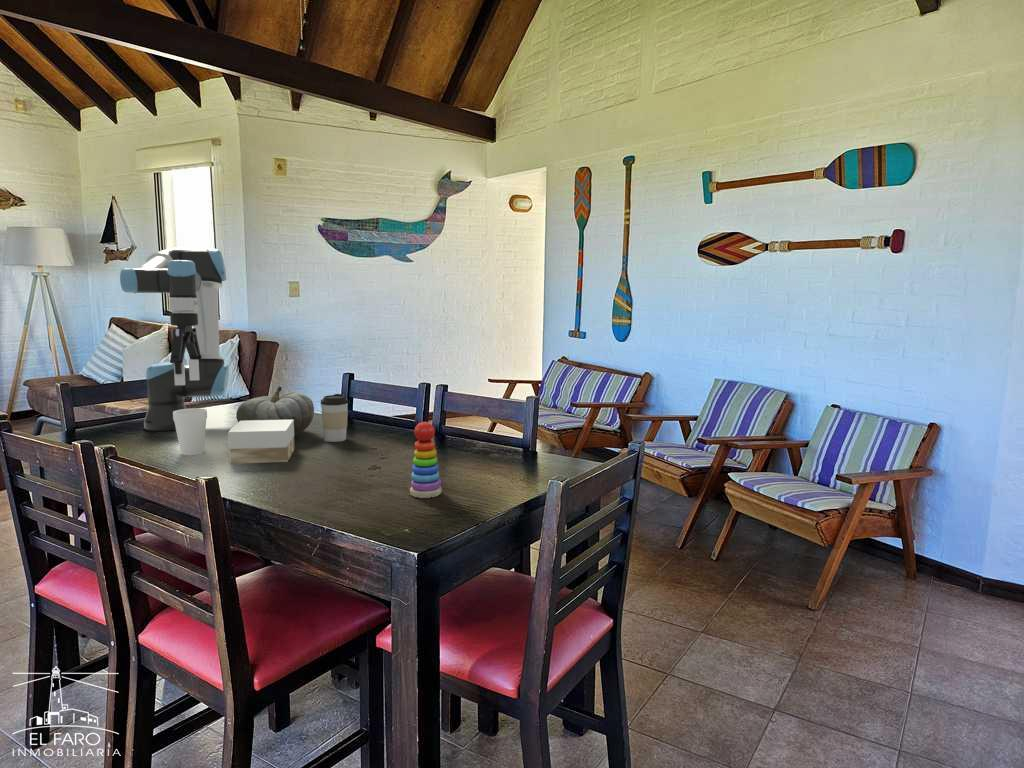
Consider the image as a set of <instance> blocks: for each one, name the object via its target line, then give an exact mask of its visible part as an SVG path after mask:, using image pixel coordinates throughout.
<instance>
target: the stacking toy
mask: <svg viewBox="0 0 1024 768" xmlns="http://www.w3.org/2000/svg"><path fill="white" fill-rule="evenodd" d="M413 433H414V436H415V439H416V440H417V441H415V442H414V448H415V450H414V452H413V453H414V457H413V460H412V462H413V465H412V468H411V469H412V473H411V474H410V476H411V479H412V480H411V482H410V485H411V487H410V489H409V493H410V495H411V496H413V497H414V498H417V497H418V499H430V498H431V497H432V498H435V497H438V496H439V495H441V494H442V492H443V491H442V487H441V484H442V480H441V479H440V478H439V477H440V473H439V471H438V470H439V465H438V464H437V463H438V458H437V456H436V455H437V450H436V448H435V446H436V443H435V441H434V440H432V439H433V438H434V436H435V434H436V430H435V426H434V425H432V423H430V422H427V421H422V422H418V423H417V425H416V426H415V427H414V430H413Z"/></svg>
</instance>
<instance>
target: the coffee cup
mask: <svg viewBox="0 0 1024 768" xmlns="http://www.w3.org/2000/svg"><path fill="white" fill-rule="evenodd" d="M319 404H320V406H321V418H322V419H321V420H322V429H323V433H324V434H323V435H324V441H326V442H330V443H335V442H336V443H338V442H345V440H346V439H347V428H348V414H349V409H348V404H349V399H348V398H347V397H346V396H345V395H343V394H341V393H335V394H331V395H325V396H323V398H321V400H320V403H319Z"/></svg>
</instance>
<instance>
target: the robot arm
mask: <svg viewBox="0 0 1024 768" xmlns="http://www.w3.org/2000/svg"><path fill="white" fill-rule="evenodd" d="M119 273H120V275H119V282H120V283H119V284H120V287H121V290H122V291H123V292H124V293H129V294H130V293H131V294H154V293H155V294H168V297H169V298H168V301H169V311H170V312H171V313H170V314H169V316H170V318H169V319H170V325H171V326H173V327H175V326H176V328H177V329H175V328H173V329H172V342H171V350H170V351H171V352H170V360H169V361H164V362H160V363H154V364H151V365H149V366H147V368H146V371H145V372H146V378H145V380H146V388H147V389H146V390H147V391H146V392H147V404H148V406H147V411H146V415H145V418H144V420H143V426H144V427H143V429H145V430H147V431H152V432H157V431H158V432H163V431H176V427H175V422H174V420H173V412H174V411H176V410H181V409H187V406H186V404H185V398H196V397H197V398H200V397H203V398H204V397H207V398H208V397H212V398H213V397H219V396H223V395H225V394H226V392H227V390H228V389H227V388H228V382H229V377H230V376H229V373H230V371H229V370H230V369H229V367H230V366H229V364H228V363H225V358H223V356H221V355H220V330H219V329H220V327H219V321H220V320H219V293H218V292H219V290H220V289H221V288H222V287H223V282H225V281H227V274H226V273H227V271H226V266H225V261H224V257H223V253H222V252H221V250H220V249H218V248H209V247H172V248H171V247H170V248H165V249H162V250H159V251H156V252H154V253H152V254H151V255H149V256H148V257H147V259H146V260H145V262H144V263H143V264H141V265H140V266H138V267H125V268H122V269H121V270H120V272H119ZM186 351H187V355H188V357H189V359H188V364H185V363H184V357H185V353H186Z"/></svg>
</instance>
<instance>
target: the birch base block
mask: <svg viewBox="0 0 1024 768" xmlns="http://www.w3.org/2000/svg"><path fill="white" fill-rule="evenodd" d="M295 446H296V445H295V436H293V438H292V439H291V441H290V443H289V444H288V446H287V447H281V448H244V449H229V460H230V465H231V464H235V465H237V464H259V463H260V464H261V463H262V464H263V463H265V464H266V463H288V462H289V461H288V460H290V459H291V456H292V455H293V453H294V451H295V449H296V448H295Z"/></svg>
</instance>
